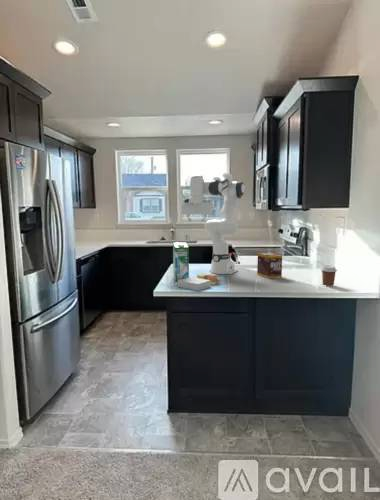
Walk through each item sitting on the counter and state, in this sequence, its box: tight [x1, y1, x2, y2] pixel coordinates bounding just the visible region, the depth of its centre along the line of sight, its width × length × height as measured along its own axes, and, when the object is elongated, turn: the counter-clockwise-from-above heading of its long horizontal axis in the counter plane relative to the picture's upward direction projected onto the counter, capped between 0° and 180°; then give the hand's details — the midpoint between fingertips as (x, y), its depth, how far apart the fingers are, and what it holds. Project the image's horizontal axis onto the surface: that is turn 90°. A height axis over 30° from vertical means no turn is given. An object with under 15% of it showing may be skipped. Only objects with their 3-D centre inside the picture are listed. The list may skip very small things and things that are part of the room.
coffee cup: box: [320, 265, 338, 287], centre depth 218 cm, size 9×9×12 cm
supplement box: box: [256, 252, 283, 279], centre depth 248 cm, size 10×15×16 cm
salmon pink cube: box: [208, 273, 218, 280], centre depth 227 cm, size 4×4×4 cm
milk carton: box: [172, 241, 190, 282], centre depth 235 cm, size 9×9×25 cm
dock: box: [177, 276, 212, 292], centre depth 217 cm, size 12×16×4 cm
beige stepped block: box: [196, 273, 221, 286], centre depth 229 cm, size 6×15×5 cm, turn 51°
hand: (196, 221), depth 231 cm, fingers open, 8 cm apart
